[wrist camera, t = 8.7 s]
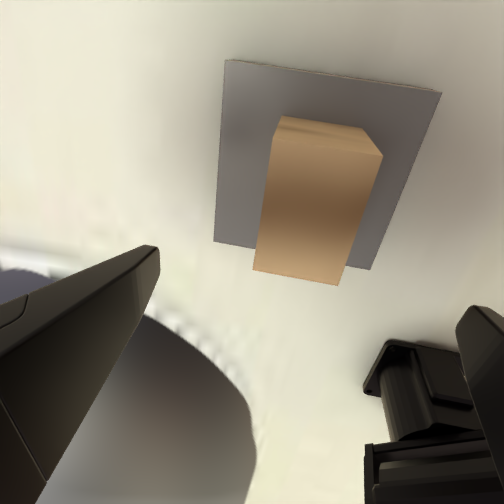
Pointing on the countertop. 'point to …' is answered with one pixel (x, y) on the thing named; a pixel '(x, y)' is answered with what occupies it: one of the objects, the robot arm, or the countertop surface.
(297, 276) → the oak brick
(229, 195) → the grey baseplate
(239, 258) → the countertop surface
